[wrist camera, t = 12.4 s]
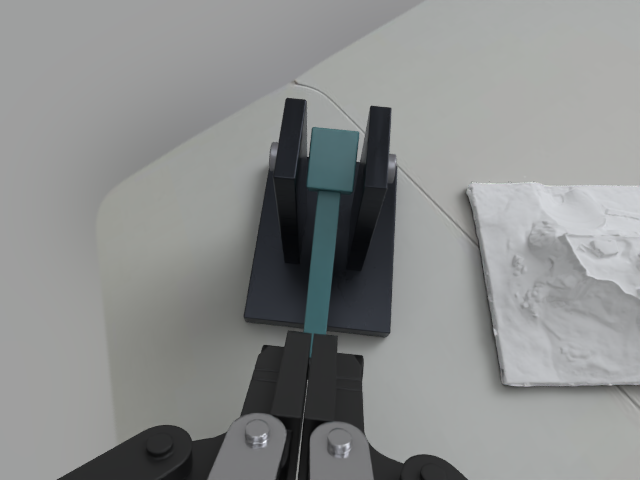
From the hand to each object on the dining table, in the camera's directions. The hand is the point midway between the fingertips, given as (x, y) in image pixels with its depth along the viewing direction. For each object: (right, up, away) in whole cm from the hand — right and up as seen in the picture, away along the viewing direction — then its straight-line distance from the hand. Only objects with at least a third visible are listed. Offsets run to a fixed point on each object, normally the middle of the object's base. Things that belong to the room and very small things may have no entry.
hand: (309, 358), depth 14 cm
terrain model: (+22, +1, +18) cm, 28 cm away
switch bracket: (+1, +3, +18) cm, 18 cm away
